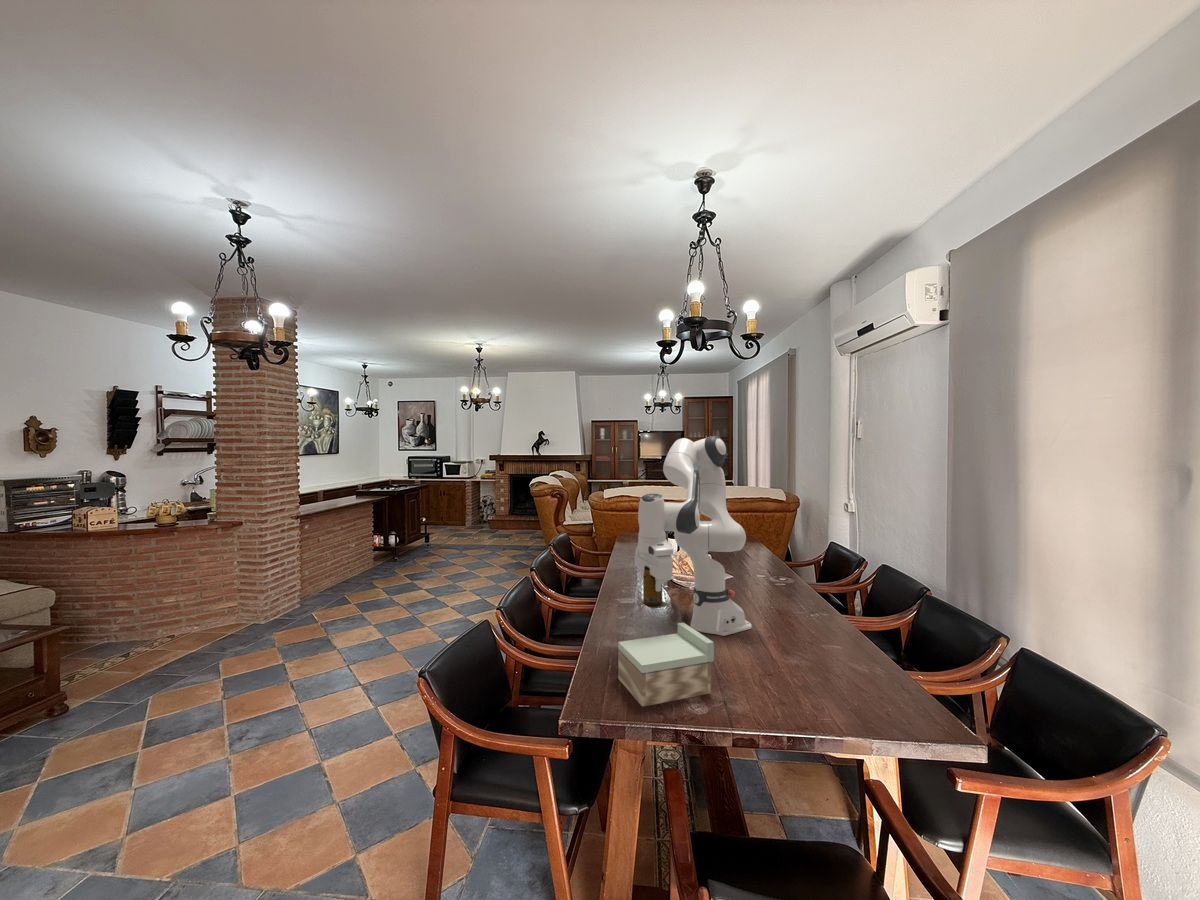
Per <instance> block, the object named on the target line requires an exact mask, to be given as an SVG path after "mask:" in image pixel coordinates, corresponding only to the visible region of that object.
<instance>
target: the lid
mask: <svg viewBox="0 0 1200 900" xmlns="http://www.w3.org/2000/svg"><path fill="white" fill-rule="evenodd" d="M617 647H618V650H620V651H621V652H622V653H623V654H624V655H625V656H626V657H627V658H628V659H629V661H630V662H631V663H632V664H633V665H634V666H635V667H636V668H637V669H638V670H639V671H640V672H641V673H648V672H653V671H659V670H665V669H671V668H677V667H683V666H689V665H694V664H700V663H706V662H710V663H712V662H714V661H715V642H714V641H713V640H711V639H709V638H708V637H707V636H705V635H703V634H702V633H701V632H700V631H697V630H695V629H693V628H692V627H691V626H690V625H689V624H686V623H685V622H677V633H670V634H663V635H658V636H650V637H642V638H636V639H635V638H634V639H629V640H621V641H618V642H617Z"/></svg>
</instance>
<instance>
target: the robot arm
mask: <svg viewBox="0 0 1200 900" xmlns="http://www.w3.org/2000/svg"><path fill="white" fill-rule="evenodd" d="M727 449H728V448H727V446H726V443H725V441H724V439H722V438H721V437H720V436H718V435H711V436H707V437H706V438H702V439H699V440H696V441H693V440H691V439H689V438H685V437H682V438H678V439H677V440H675V441H674V443H673V444H672V445H671V447H670V448H669V451H668V452H667V454H666V457H665V459H664V462H663V467H662V472H663V474H664V476H665V478H666V479H667V480H668V482H670V483H671V484H672V485H676V486H677V487H681V488H684V489H686V500H685V501H682V502H669V501H668V502H667V501H665V500H664V498H665V497H664V496H663V495H662V494H659V493H647V494H644V495H642V496H641V497H640V500H639V504H638V513H637V518H638V519H637V520H638V521H637V523H638V526H639V529H638V530H639V531H638V535H637V537H638V538H637V539H638V542H637V546H636V547H635V553H634V555H635V556H634V565H635V567H636V568H638V569H639V570H641V573H642V576H643V575H644V573H645V572H644V566H647V567H649V568H650V575H652V576H653V577H655V581H656V584H655V585H654V590H656V591H657V592H658V591H661V585H662V586H663V584H664V582H666V581H669V582H670V581H671V579H672V578H673V568H674V567H673V565H674V563H673V557H672V556H673V555H674V548H673V547H672V545H670V543H669V541H668V540H667V535H666V532H674V539H675V543H676V544H677V546H678V547H679V548H680V549H682V550H683V551H684V552H685V554H686V555H687V556H688V557H689V559H690V562H691V564H692V567H693V575H694V581H693V582H694V587H693V590H692V592H693V593H692V595H693V596H692V597H693V598H692V599H693V608H692V609H693V610H692V617H691V621H690V623H689V624H690V625H689V626H690V627H691V628H693V629H694V630H696V631H697V632H699V633H704V634H705V633H706V634H712V635H719V636H721V637H722V636H723V637H725V636H729V635H732V634H737V633H739V632H744V631H746V630H751V629H753V625H752V623H751V622H750V621H748V620H746V615H745V612H744V609H743V608H742V607H741V606H740V605H738V604H737V603H735V601H733V600H732V599H731V598H730V597H735V595H736V592H735V591H734V590H733V589H729V590H728V589H727V588H726V570H725V568H724V566H723V565H722V564H721V563H720V561H719V562H718V561H717V560H715V559H713V558H711V556H710V555H709V554H708V552H721V553H722V552H723V553H732V552H737V551H741V550H742V549H743V548H744V546H745V544H746V541H747V535H746V534H747V533H746V531H745V529H744V528H743V525H741V524H739V523H738V522H737V521H735V520H734V519H733V518H732V516H731V515H730V513H729V512H728V511H729V510H728V508H727V496H726V495H727V492H726V491H727V485H726V478H725V477H726V476H725V473H724V470H723V468H722V466H723V465H724V464H725V459H726V457H727V453H728V452H727ZM701 514H702V515H704V516H705V517H708V518H709V519H710V520H701Z"/></svg>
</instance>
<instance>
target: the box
mask: <svg viewBox="0 0 1200 900" xmlns="http://www.w3.org/2000/svg"><path fill="white" fill-rule="evenodd" d="M617 651H618V653H617V655H618V657H617V658H618V660H617V661H618V667H617V670H618V673H617V678H618V680H619V681H620V682H621V683H622V685H623V686H624V687H625V688H626V689H627V691H628V692H629V693H630V695H632V697H633V698H634V699H635V700H636V701H637V702H638V704H640V706H641V707H648V706H653V705H654V706H655V705H658V704H663V703H664V704H665V703H669V702H673V701H678V700H683V699H688V698H689V699H690V698H693V697H698V696H703V695H704V696H705V695H709V694H711V693H712V664H711V663H712V662H706V663H700V664H694V665H689V666H683V667H677V668H671V669H665V670H659V671H653V672H648V673H641V672H640V671H639V670H638V669H637V668H636V667H635V666H634V665H633V664H632V663H631V662H630V661H629V659H628V658H627V657H626V656H625V655H624V654H623V653H622V652H621V651H620V650H619V649H618V650H617Z"/></svg>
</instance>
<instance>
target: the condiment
mask: <svg viewBox="0 0 1200 900" xmlns="http://www.w3.org/2000/svg"><path fill="white" fill-rule="evenodd" d="M644 572H645V573H644V575H643V574H642V579H643V580H642V585H643V586H642V589H643V590H642V592H643V595H642V596H643V597H642V598H643V600H642V599H641V600H637V603H639V604H641V605H643V606H646V607H648V608H650V609H652V610H655V609H661V608H665V607H669V606H671V604H669V603H668V602H665V601H664V600H663V584H662V585H661V591H658V592H657V591H656V590H654V585H655V584H656V581H655V577H653V576H652V575H650V568H649V567H647V566H644Z"/></svg>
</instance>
